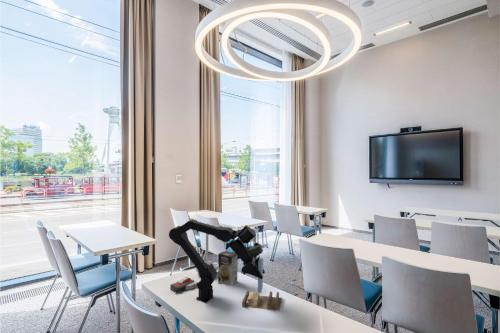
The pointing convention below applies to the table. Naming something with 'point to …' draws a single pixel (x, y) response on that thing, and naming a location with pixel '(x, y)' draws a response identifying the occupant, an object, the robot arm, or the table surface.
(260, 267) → the board
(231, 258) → the coffee box
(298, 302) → the table surface
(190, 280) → the walkie-talkie
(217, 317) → the table surface
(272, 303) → the rack
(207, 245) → the flag stand
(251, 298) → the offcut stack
